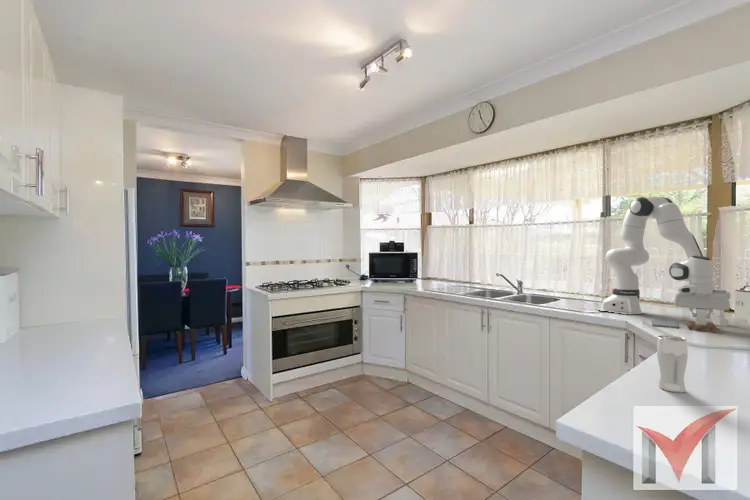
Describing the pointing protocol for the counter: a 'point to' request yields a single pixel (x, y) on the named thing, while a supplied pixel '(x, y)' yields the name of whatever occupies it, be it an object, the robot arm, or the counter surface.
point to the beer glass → (672, 362)
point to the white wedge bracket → (719, 317)
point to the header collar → (701, 326)
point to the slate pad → (664, 324)
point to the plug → (701, 316)
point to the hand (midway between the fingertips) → (700, 317)
